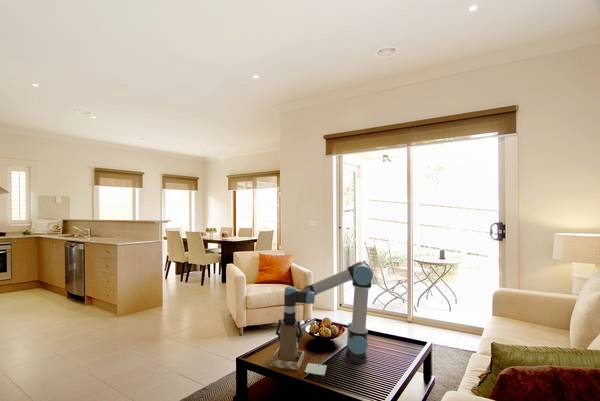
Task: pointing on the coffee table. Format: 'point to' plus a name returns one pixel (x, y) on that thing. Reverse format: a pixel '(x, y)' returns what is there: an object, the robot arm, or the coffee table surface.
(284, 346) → the wooden block
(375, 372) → the coffee table surface
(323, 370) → the pad
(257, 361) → the coffee table surface
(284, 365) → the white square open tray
